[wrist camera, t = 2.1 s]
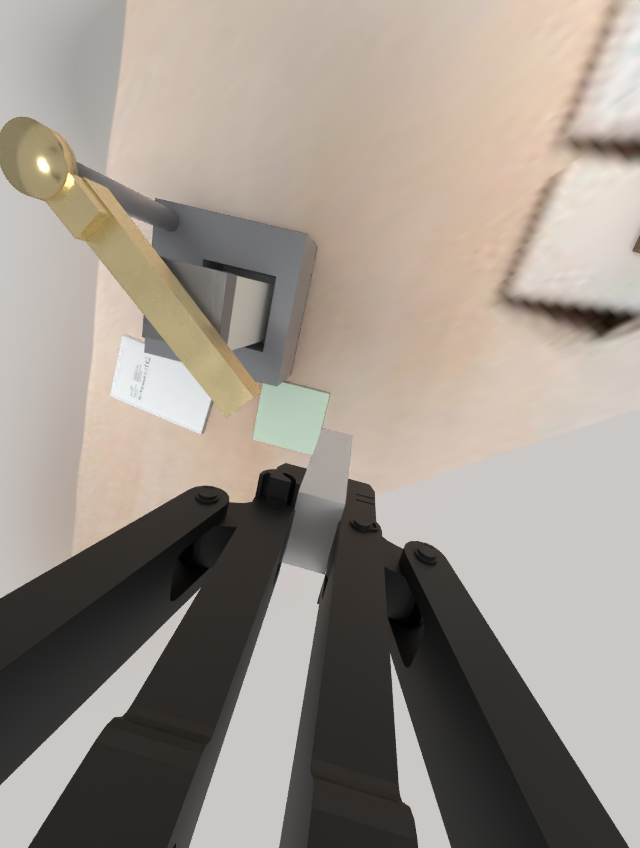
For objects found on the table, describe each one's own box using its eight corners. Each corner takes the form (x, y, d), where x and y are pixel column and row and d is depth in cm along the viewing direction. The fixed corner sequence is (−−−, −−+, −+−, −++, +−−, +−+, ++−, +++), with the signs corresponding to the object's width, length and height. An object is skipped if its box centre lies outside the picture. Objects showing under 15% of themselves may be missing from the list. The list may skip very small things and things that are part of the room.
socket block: (191, 216, 39) (26, 131, 20) (317, 246, 39) (268, 187, 20) (178, 345, 44) (33, 374, 25) (290, 374, 43) (230, 426, 24)
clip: (40, 174, 23) (-16, 151, 20) (76, 131, 22) (23, 99, 19) (230, 414, 26) (210, 429, 23) (268, 386, 25) (253, 397, 22)
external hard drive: (206, 431, 47) (117, 394, 47) (223, 373, 45) (129, 334, 45) (200, 435, 46) (108, 397, 46) (218, 375, 43) (121, 335, 43)
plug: (229, 273, 39) (147, 253, 24) (280, 285, 38) (228, 272, 24) (221, 326, 40) (142, 337, 26) (270, 339, 40) (216, 356, 26)
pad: (264, 376, 44) (263, 377, 43) (330, 393, 43) (329, 394, 43) (253, 437, 46) (252, 439, 46) (315, 454, 46) (314, 455, 45)
